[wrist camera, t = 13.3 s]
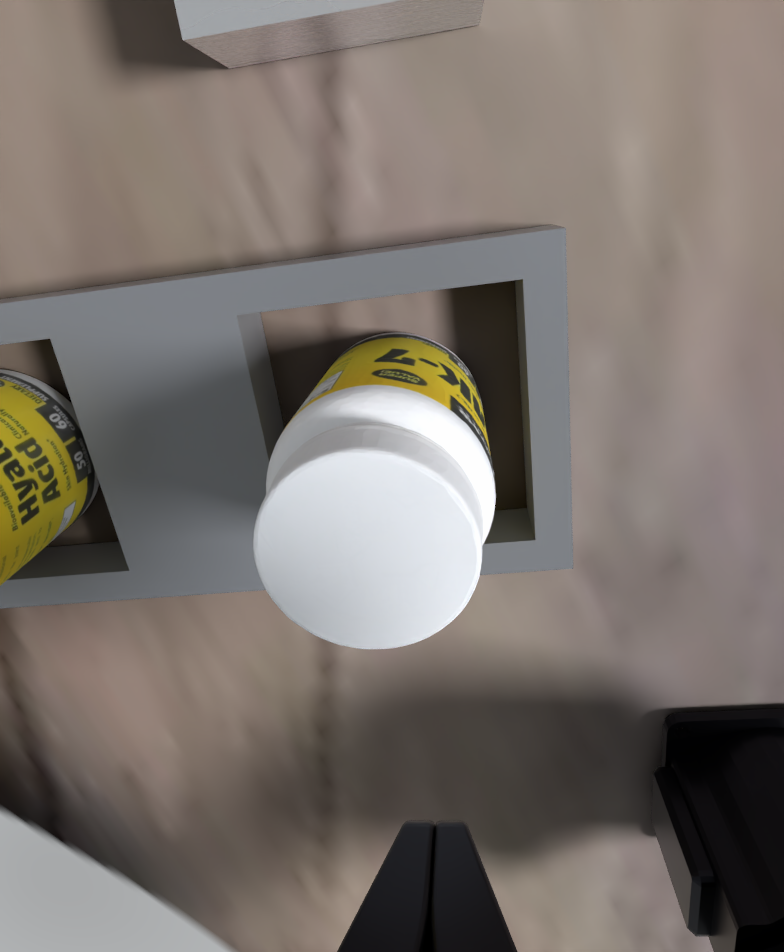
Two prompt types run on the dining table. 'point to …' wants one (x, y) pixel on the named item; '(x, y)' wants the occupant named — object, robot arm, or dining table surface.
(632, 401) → the dining table surface
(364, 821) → the dining table surface
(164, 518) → the bottle holder
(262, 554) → the supplement bottle
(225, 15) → the button console
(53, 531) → the supplement bottle
